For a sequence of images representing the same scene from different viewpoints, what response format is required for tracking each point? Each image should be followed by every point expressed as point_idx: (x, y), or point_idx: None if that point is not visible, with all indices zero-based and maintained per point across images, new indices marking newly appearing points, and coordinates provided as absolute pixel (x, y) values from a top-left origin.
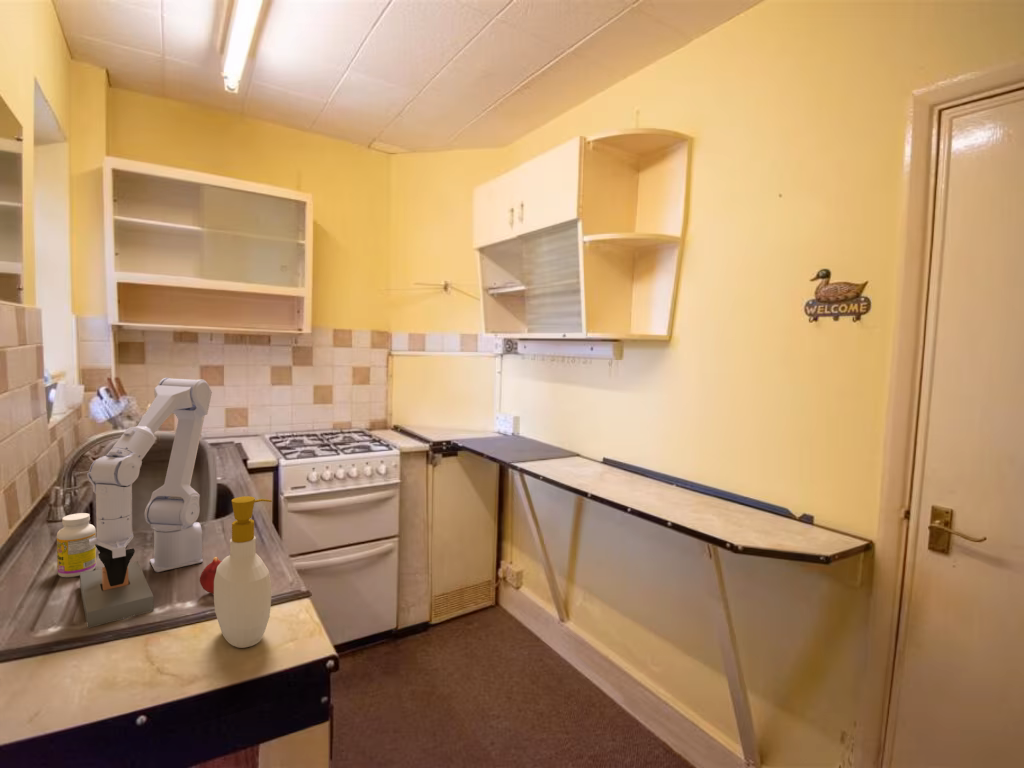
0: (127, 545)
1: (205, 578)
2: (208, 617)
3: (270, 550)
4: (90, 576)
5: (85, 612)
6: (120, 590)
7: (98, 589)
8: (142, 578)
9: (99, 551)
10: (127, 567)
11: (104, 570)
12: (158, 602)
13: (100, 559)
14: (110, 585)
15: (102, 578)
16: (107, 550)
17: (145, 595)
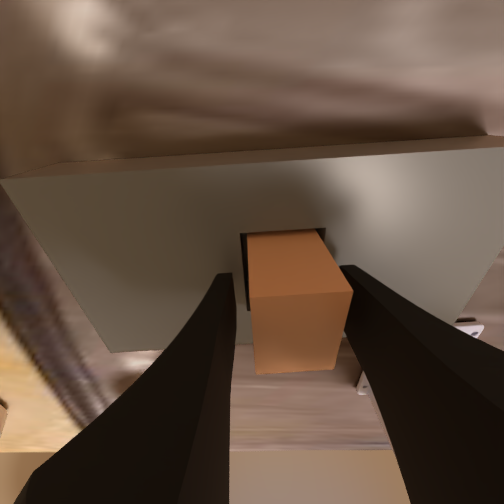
0: (410, 493)
1: None
2: (58, 379)
3: (320, 445)
4: (462, 191)
5: (165, 158)
6: (204, 287)
7: (263, 222)
8: None
9: (493, 407)
10: (259, 372)
11: (287, 302)
12: None
13: (21, 501)
14: (215, 276)
15: (299, 257)
16: (454, 431)
17: (123, 339)
